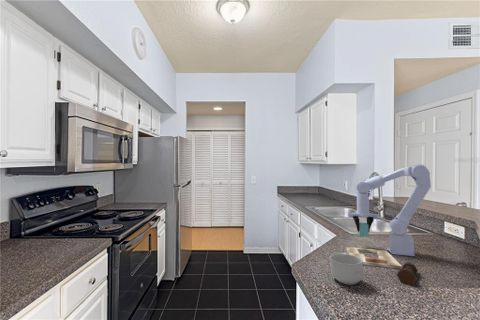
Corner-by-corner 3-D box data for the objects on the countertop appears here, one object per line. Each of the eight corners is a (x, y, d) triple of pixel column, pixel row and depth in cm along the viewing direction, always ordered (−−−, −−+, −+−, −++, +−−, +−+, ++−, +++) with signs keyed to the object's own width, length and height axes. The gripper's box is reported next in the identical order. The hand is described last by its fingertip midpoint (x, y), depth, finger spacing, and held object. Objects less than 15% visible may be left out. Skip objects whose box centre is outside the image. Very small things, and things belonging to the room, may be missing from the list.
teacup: (361, 291, 77) (361, 266, 78) (326, 282, 83) (326, 259, 83) (365, 275, 89) (364, 254, 89) (334, 269, 95) (334, 248, 95)
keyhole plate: (386, 253, 115) (386, 247, 115) (402, 269, 96) (402, 262, 96) (346, 249, 120) (346, 244, 120) (353, 263, 101) (353, 257, 101)
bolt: (413, 276, 93) (409, 289, 82) (400, 267, 96) (394, 277, 85) (422, 265, 92) (419, 276, 81) (408, 256, 95) (403, 265, 84)
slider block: (366, 234, 125) (366, 222, 126) (368, 236, 121) (368, 224, 121) (357, 233, 127) (357, 222, 127) (359, 236, 122) (359, 224, 122)
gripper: (376, 204, 126) (376, 230, 125) (346, 203, 130) (346, 228, 129) (380, 206, 119) (380, 234, 119) (348, 205, 123) (348, 231, 123)
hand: (363, 231), depth 124 cm, fingers closed on slider block, 4 cm apart
